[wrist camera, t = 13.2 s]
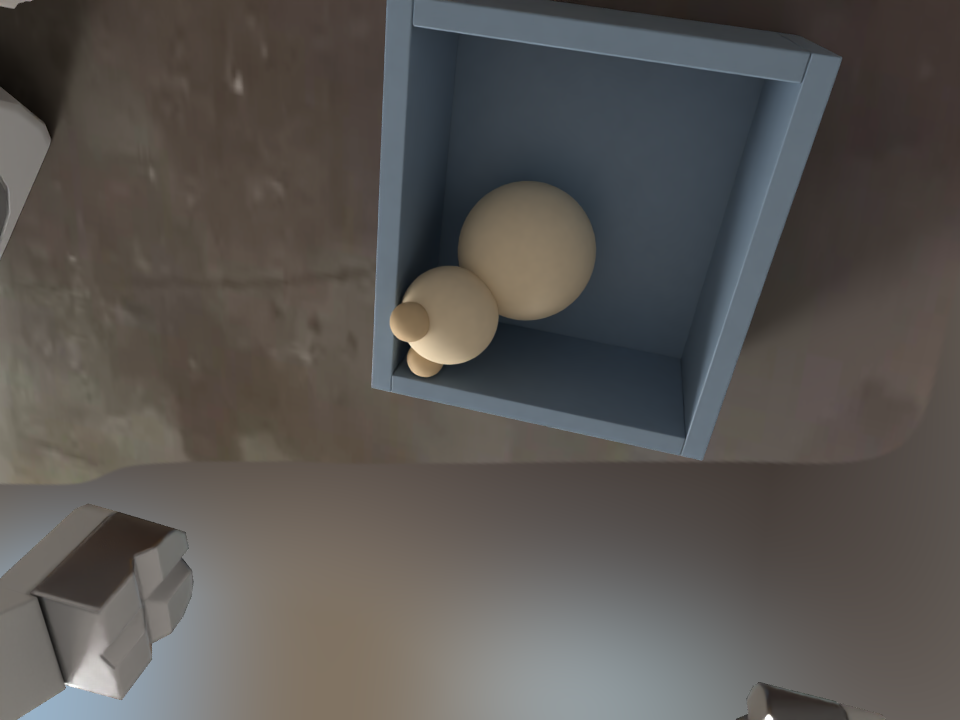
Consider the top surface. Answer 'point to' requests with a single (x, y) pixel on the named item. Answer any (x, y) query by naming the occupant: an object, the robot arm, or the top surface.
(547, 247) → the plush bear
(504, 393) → the bin
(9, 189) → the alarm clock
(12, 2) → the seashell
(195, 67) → the top surface
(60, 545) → the robot arm
